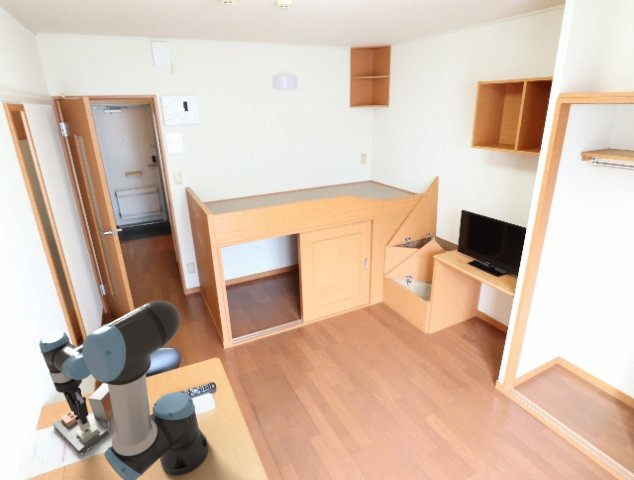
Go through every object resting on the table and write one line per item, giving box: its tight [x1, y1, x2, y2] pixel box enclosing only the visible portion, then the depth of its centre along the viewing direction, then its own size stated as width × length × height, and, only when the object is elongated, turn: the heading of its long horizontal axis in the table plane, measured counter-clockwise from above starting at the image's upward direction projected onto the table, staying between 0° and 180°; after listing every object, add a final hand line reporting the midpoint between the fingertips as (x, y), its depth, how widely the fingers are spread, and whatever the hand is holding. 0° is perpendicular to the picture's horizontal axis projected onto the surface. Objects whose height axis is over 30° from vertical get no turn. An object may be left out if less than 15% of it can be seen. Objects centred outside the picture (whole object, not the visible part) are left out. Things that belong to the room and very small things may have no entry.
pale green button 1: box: [76, 422, 99, 445], centre depth 132 cm, size 5×5×3 cm
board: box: [52, 411, 110, 455], centre depth 135 cm, size 20×10×2 cm, turn 55°
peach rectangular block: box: [60, 410, 77, 429], centre depth 138 cm, size 5×5×3 cm
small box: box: [87, 382, 114, 422], centre depth 141 cm, size 8×6×10 cm
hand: (85, 428), depth 131 cm, fingers closed
